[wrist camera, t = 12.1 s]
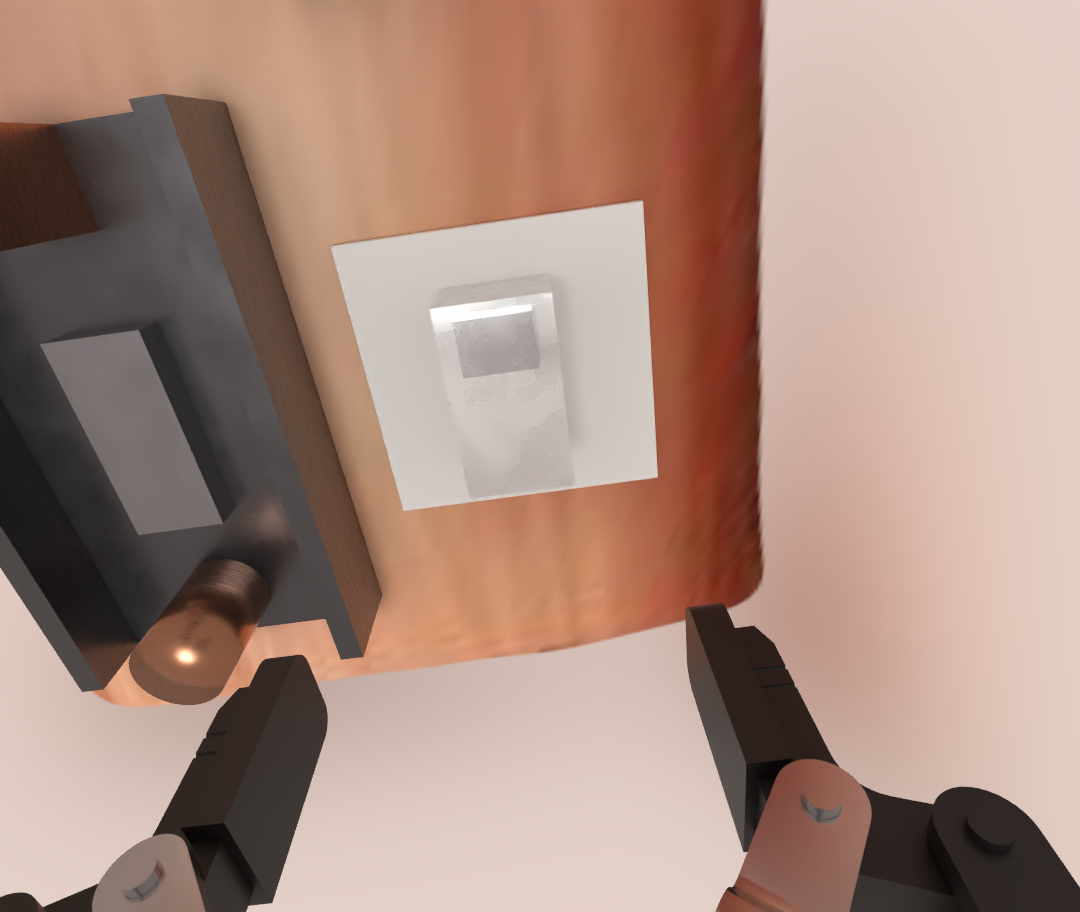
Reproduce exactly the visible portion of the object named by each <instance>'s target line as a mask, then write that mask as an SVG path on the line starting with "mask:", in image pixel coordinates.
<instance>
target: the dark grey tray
mask: <svg viewBox="0 0 1080 912" xmlns="http://www.w3.org/2000/svg"><path fill="white" fill-rule="evenodd" d="M129 101H130V104H131V107H132V109H133V112H131V113H124V114H118V115H111V116H105V117H99V118H92V119H86V120H79V121H73V122H66V123H60V124H53V125H52V124H28V123H3V122H0V568H1V569H2V571H3V572H4V574H5V575H6V577H7V578H8V580H9V581H10V583H11V584H12V586H13V587H14V589H15V591H16V592H17V593H18V595H19V597H20V598H21V599H22V601H23V603H24V604H25V606H26V607H27V609H28V610H29V612H30V613H31V615H32V616H33V618H34V619H35V621H36V622H37V624H38V625H39V627H40V628H41V630H42V632H43V633H44V635H45V636H46V637H47V639H48V641H49V642H50V644H51V645H52V647H53V648H54V650H55V651H56V653H57V654H58V656H59V657H60V659H61V660H62V662H63V663H64V665H65V666H66V668H67V670H68V671H69V673H70V674H71V676H72V677H73V679H74V680H75V682H76V683H77V685H78V686H79V688H80V689H81V690H82V692H85V691H93V690H101V689H104V688H105V687H106V686H107V684H108V683H109V682H110V680H111V679H112V678H113V676H114V675H115V674H116V672H117V671H118V670H119V669H120V667H121V666H122V665H123V663H124V662H125V661H126V659H127V658H128V657H129V655H130V654H131V653H132V654H131V656H130V659H129V669H130V672H131V674H132V676H133V678H134V680H135V681H136V682H137V684H138V685H139V686H140V687H141V688H142V689H144V690H145V691H146V692H148V693H149V694H151V695H152V696H154V697H156V698H158V699H161V700H163V701H166V702H170V703H174V704H180V705H181V704H182V705H196V704H201V703H205V702H208V701H210V700H212V699H214V698H215V697H217V696H218V695H219V694H220V693H221V692H222V690H223V688H224V686H225V685H226V683H227V681H228V679H229V677H230V675H231V673H232V672H233V670H234V668H235V666H236V664H237V662H238V661H239V659H240V657H241V655H242V653H243V651H244V649H245V648H246V646H247V644H248V642H249V640H250V638H251V636H252V635H253V633H254V631H255V629H256V627H263V626H271V625H279V624H287V623H295V622H303V621H311V620H319V619H326V621H327V624H328V626H329V629H330V632H331V634H332V637H333V639H334V642H335V645H336V647H337V650H338V653H339V655H340V658H341V660H342V659H350V658H358V657H363V656H364V653H365V650H366V646H367V643H368V640H369V636H370V633H371V630H372V626H373V623H374V620H375V616H376V613H377V610H378V606H379V603H380V600H381V596H382V594H381V591H380V588H379V585H378V582H377V578H376V575H375V572H374V569H373V566H372V563H371V560H370V556H369V553H368V550H367V547H366V544H365V541H364V538H363V534H362V531H361V528H360V525H359V522H358V519H357V516H356V512H355V509H354V506H353V503H352V500H351V497H350V494H349V490H348V487H347V484H346V481H345V478H344V475H343V472H342V468H341V465H340V462H339V459H338V456H337V453H336V450H335V446H334V443H333V440H332V437H331V434H330V431H329V428H328V424H327V421H326V418H325V415H324V412H323V409H322V405H321V402H320V399H319V396H318V393H317V390H316V387H315V383H314V380H313V377H312V374H311V371H310V368H309V365H308V361H307V358H306V355H305V352H304V349H303V346H302V343H301V339H300V336H299V333H298V330H297V327H296V324H295V321H294V317H293V314H292V311H291V308H290V305H289V302H288V299H287V295H286V292H285V289H284V286H283V283H282V280H281V277H280V273H279V270H278V267H277V264H276V261H275V258H274V255H273V251H272V248H271V245H270V242H269V239H268V236H267V233H266V229H265V226H264V223H263V220H262V217H261V214H260V211H259V207H258V204H257V201H256V198H255V195H254V192H253V189H252V185H251V182H250V179H249V176H248V173H247V170H246V167H245V163H244V160H243V157H242V154H241V151H240V148H239V145H238V141H237V138H236V135H235V132H234V129H233V126H232V123H231V119H230V116H229V113H228V110H227V107H226V104H225V103H224V102H217V101H210V100H203V99H196V98H189V97H181V96H174V95H167V94H159V95H153V96H146V97H140V98H134V99H129ZM139 642H140V643H139ZM136 646H137V647H136ZM135 647H136V648H135ZM132 651H133V652H132Z"/></svg>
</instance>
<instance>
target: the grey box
mask: <svg viewBox="0 0 1080 912" xmlns="http://www.w3.org/2000/svg"><path fill="white" fill-rule="evenodd" d="M429 311H430V315H431V320H432V325H433V329H434V334H435V339H436V343H437V348H438V353H439V357H440V362H441V367H442V371H443V376H444V381H445V385H446V390H447V395H448V400H449V404H450V409H451V414H452V418H453V423H454V428H455V432H456V437H457V442H458V446H459V451H460V456H461V460H462V465H463V470H464V474H465V479H466V484H467V488H468V493H469V498H470V499H472V498H480V497H487V496H495V495H503V494H510V493H518V492H526V491H533V490H541V489H549V488H556V487H564V486H572V485H575V478H574V470H573V462H572V454H571V445H570V437H569V429H568V421H567V412H566V404H565V396H564V388H563V380H562V371H561V363H560V355H559V347H558V338H557V330H556V322H555V314H554V306H553V297H552V290H551V286H550V282H549V277H548V273H546V274H539V275H532V276H525V277H518V278H511V279H504V280H497V281H490V282H483V283H476V284H469V285H461V286H454V287H447V288H440V290H439V292H438V294H437V296H436V297H435V299H434V301H433V303H432V305H431V307H430V309H429Z"/></svg>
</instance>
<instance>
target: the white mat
mask: <svg viewBox="0 0 1080 912" xmlns="http://www.w3.org/2000/svg"><path fill="white" fill-rule="evenodd" d="M331 251H332V254H333V258H334V262H335V265H336V269H337V272H338V276H339V280H340V283H341V287H342V291H343V294H344V298H345V301H346V305H347V309H348V312H349V316H350V320H351V323H352V327H353V330H354V334H355V338H356V341H357V345H358V348H359V352H360V356H361V359H362V363H363V367H364V370H365V374H366V377H367V381H368V385H369V388H370V392H371V396H372V399H373V403H374V406H375V410H376V414H377V417H378V421H379V425H380V428H381V432H382V435H383V439H384V443H385V446H386V450H387V453H388V457H389V461H390V464H391V468H392V472H393V475H394V479H395V482H396V486H397V490H398V493H399V497H400V501H401V504H402V508H403V511H408V510H415V509H423V508H430V507H438V506H446V505H453V504H461V503H468V502H476V501H483V500H491V499H499V498H506V497H514V496H521V495H529V494H536V493H544V492H551V491H559V490H567V489H574V488H582V487H589V486H597V485H604V484H612V483H620V482H627V481H635V480H642V479H650V478H657V477H658V471H657V453H656V434H655V416H654V397H653V379H652V360H651V341H650V323H649V304H648V286H647V267H646V249H645V230H644V212H643V201H642V200H636V201H629V202H622V203H616V204H609V205H602V206H595V207H588V208H582V209H575V210H568V211H561V212H554V213H547V214H541V215H534V216H527V217H520V218H513V219H507V220H500V221H493V222H486V223H479V224H472V225H466V226H459V227H452V228H445V229H438V230H432V231H425V232H418V233H411V234H404V235H397V236H391V237H384V238H377V239H370V240H363V241H357V242H350V243H343V244H336V245H333V246H331ZM546 273H548V277H549V282H550V286H551V290H552V297H553V306H554V314H555V322H556V330H557V338H558V347H559V355H560V363H561V371H562V380H563V388H564V396H565V404H566V412H567V421H568V429H569V437H570V445H571V454H572V462H573V470H574V478H575V485H572V486H564V487H556V488H549V489H541V490H533V491H526V492H518V493H510V494H503V495H495V496H487V497H480V498H472V499H470V498H469V493H468V488H467V484H466V479H465V474H464V470H463V465H462V460H461V456H460V451H459V446H458V442H457V437H456V432H455V428H454V423H453V418H452V414H451V409H450V404H449V400H448V395H447V390H446V385H445V381H444V376H443V371H442V367H441V362H440V357H439V353H438V348H437V343H436V339H435V334H434V329H433V325H432V320H431V315H430V311H429V309H430V307H431V305H432V303H433V301H434V299H435V297H436V296H437V294H438V292H439V290H440V288H447V287H454V286H461V285H469V284H476V283H483V282H490V281H497V280H504V279H511V278H518V277H525V276H532V275H539V274H546Z"/></svg>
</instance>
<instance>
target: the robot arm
mask: <svg viewBox="0 0 1080 912" xmlns="http://www.w3.org/2000/svg"><path fill="white" fill-rule="evenodd" d="M686 643H687V666H688V672H689V678H690V683H691V688H692V691H693V695H694V698H695V701H696V704H697V707H698V711H699V713H700V717H701V720H702V723H703V726H704V729H705V733H706V736H707V739H708V742H709V745H710V748H711V751H712V754H713V758H714V761H715V764H716V767H717V770H718V773H719V777H720V780H721V783H722V786H723V789H724V792H725V795H726V799H727V802H728V805H729V808H730V811H731V814H732V817H733V820H734V824H735V827H736V830H737V833H738V836H739V839H740V842H741V846H742V849H743V852H748V853H747V855H746V858H745V860H744V863H743V865H742V868H741V871H740V873H739V876H738V878H737V880H736V882H735V885H734V886H733V887H732V888H731V887H728V888H727V889H726V891H725V893H724V894H723V896H722V898H721V900H720V903H719V905H718V907H717V909H716V912H1080V887H1079V886H1078V884H1077V883H1076V881H1075V880H1074V878H1073V877H1072V876H1071V874H1070V873H1069V872H1068V870H1067V868H1066V867H1065V865H1064V864H1063V863H1062V861H1061V860H1060V858H1059V857H1058V855H1057V854H1056V852H1055V851H1054V850H1053V848H1052V847H1051V845H1050V844H1049V842H1048V841H1047V839H1046V838H1045V836H1044V835H1043V834H1042V832H1041V831H1040V829H1039V828H1038V827H1037V825H1036V824H1035V823H1034V822H1033V821H1032V820H1031V819H1030V818H1029V816H1028V815H1027V814H1026V813H1024V812H1023V811H1022V810H1021V809H1019V808H1018V807H1017V806H1016V805H1014V804H1012V803H1011V802H1009V801H1008V800H1006V799H1004V798H1002V797H1001V796H999V795H996V794H994V793H991V792H989V791H986V790H982V789H979V788H973V787H956V788H951V789H949V790H946V791H944V792H943V793H941V794H940V795H939V796H938V797H937V799H936V801H935V803H934V804H929V803H923V802H918V801H912V800H907V799H902V798H897V797H892V796H888V795H884V794H880V793H877V792H875V791H872V790H870V789H868V788H866V787H864V786H862V785H861V784H859V783H858V782H857V781H856V779H855V778H853V777H852V776H851V775H850V774H849V773H847V772H846V771H844V770H843V769H841V768H840V767H839V766H838V765H837V763H836V762H835V761H834V759H833V757H832V756H831V754H830V752H829V750H828V749H827V746H826V744H825V743H824V740H823V738H822V737H821V735H820V733H819V731H818V729H817V727H816V725H815V723H814V721H813V719H812V717H811V715H810V713H809V711H808V709H807V707H806V705H805V703H804V701H803V699H802V697H801V695H800V693H799V691H798V689H797V688H795V685H794V682H793V680H792V678H791V676H790V674H789V672H788V670H787V669H786V668H785V664H784V662H783V660H782V658H781V656H780V654H779V653H778V650H777V648H776V646H775V644H774V643H773V642H772V641H771V640H770V639H768V638H767V637H766V636H765V635H764V634H762V632H760V631H759V630H758V629H757V628H756V627H755V626H749V627H741V628H734V625H733V623H732V620H731V618H730V616H729V614H728V612H727V609H726V607H725V606H724V604H722V603H719V604H711V605H703V606H695V607H687V608H686ZM327 719H328V717H327V708H326V705H325V702H324V699H323V697H322V695H321V692H320V690H319V688H318V685H317V683H316V680H315V678H314V675H313V673H312V671H311V668H310V666H309V663H308V661H307V659H306V658H305V657H304V656H303V655H294V656H286V657H278V658H270V659H265V660H264V661H262V663H261V664H260V665H259V667H258V669H257V671H256V673H255V675H254V678H253V680H252V682H251V684H250V686H249V687H245V688H239V689H238V690H237V691H236V692H235V693H234V694H233V695H232V696H231V697H230V698H229V700H228V701H227V702H226V703H225V704H224V705H223V706H222V707H221V708H220V709H219V710H218V712H217V714H216V716H215V718H214V720H213V722H212V724H211V726H210V727H209V730H208V731H207V733H206V735H207V736H206V738H205V739H203V741H202V743H201V745H200V747H199V749H198V750H197V752H196V758H194V759H193V760H192V762H191V764H190V766H189V768H188V770H187V772H186V774H185V775H184V777H183V779H182V781H181V783H180V785H179V787H178V789H177V791H176V793H175V795H174V796H173V798H172V800H171V802H170V804H169V806H168V808H167V810H166V812H165V814H164V816H163V818H162V820H161V821H160V823H159V825H158V827H157V829H156V831H155V833H154V834H153V836H152V837H150V838H148V839H146V840H143V841H141V842H140V843H138V844H136V845H135V846H133V847H132V848H130V849H129V850H128V851H126V852H125V853H124V854H123V855H121V856H120V857H119V858H118V859H117V860H116V861H115V862H114V863H113V864H112V865H111V867H110V868H109V869H108V870H107V872H106V873H105V875H104V876H103V877H102V879H101V881H100V882H99V884H96V885H94V886H92V887H90V888H88V889H85V890H83V891H81V892H78V893H76V894H73V895H71V896H68V897H66V898H64V899H61V900H59V901H56V902H54V903H52V904H49V905H47V906H45V907H42V906H41V905H40V904H39V903H38V902H37V901H36V899H35V898H34V897H33V896H32V895H30V894H27V893H12V894H8V895H5V896H3V897H0V912H246V910H247V908H248V906H250V905H258V904H268V903H272V902H273V899H274V896H275V892H276V889H277V886H278V883H279V880H280V877H281V874H282V871H283V867H284V864H285V861H286V858H287V855H288V852H289V849H290V846H291V842H292V839H293V836H294V833H295V830H296V827H297V824H298V821H299V817H300V814H301V811H302V808H303V805H304V802H305V799H306V795H307V792H308V789H309V786H310V783H311V779H312V777H313V774H314V771H315V767H316V764H317V761H318V758H319V755H320V752H321V749H322V745H323V742H324V739H325V736H326V732H327Z"/></svg>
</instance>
